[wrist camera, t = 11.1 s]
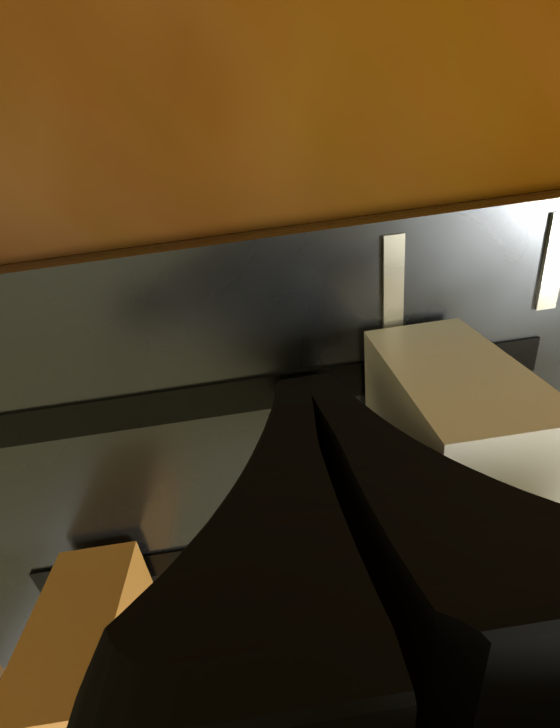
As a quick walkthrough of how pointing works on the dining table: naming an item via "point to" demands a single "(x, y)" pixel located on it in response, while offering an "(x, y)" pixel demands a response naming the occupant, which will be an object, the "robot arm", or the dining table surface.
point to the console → (225, 361)
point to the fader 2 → (466, 401)
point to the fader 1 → (68, 632)
